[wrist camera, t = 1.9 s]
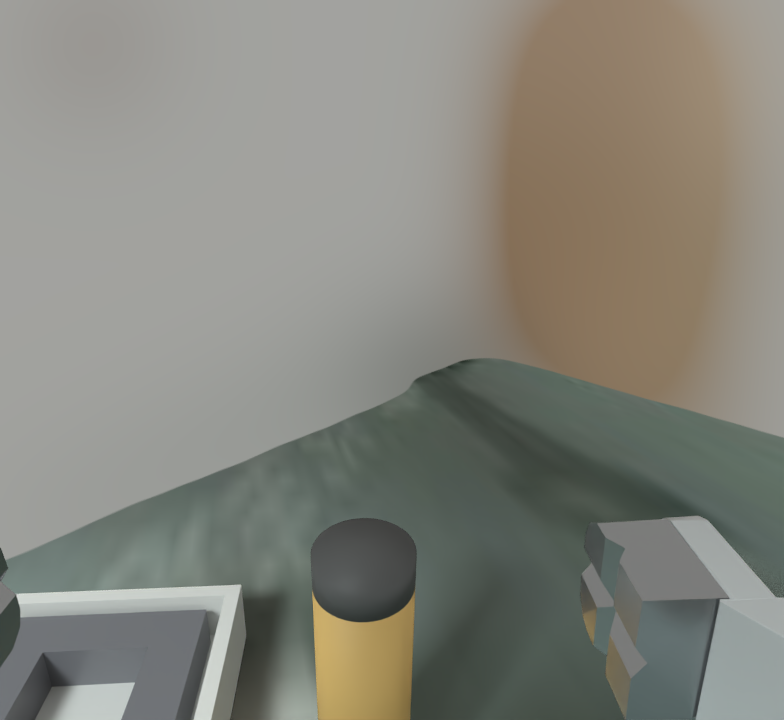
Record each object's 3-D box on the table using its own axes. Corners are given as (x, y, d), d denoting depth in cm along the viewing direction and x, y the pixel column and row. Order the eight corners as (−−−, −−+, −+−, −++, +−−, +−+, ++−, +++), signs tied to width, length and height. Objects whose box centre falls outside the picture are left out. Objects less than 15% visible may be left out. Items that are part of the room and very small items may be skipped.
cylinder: (320, 851, 26) (307, 591, 20) (323, 759, 29) (313, 520, 24) (411, 844, 26) (422, 587, 21) (402, 754, 30) (410, 516, 24)
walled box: (-162, 915, 23) (-198, 853, 22) (10, 646, 35) (-6, 595, 34) (198, 887, 24) (187, 826, 23) (246, 635, 37) (241, 584, 35)
